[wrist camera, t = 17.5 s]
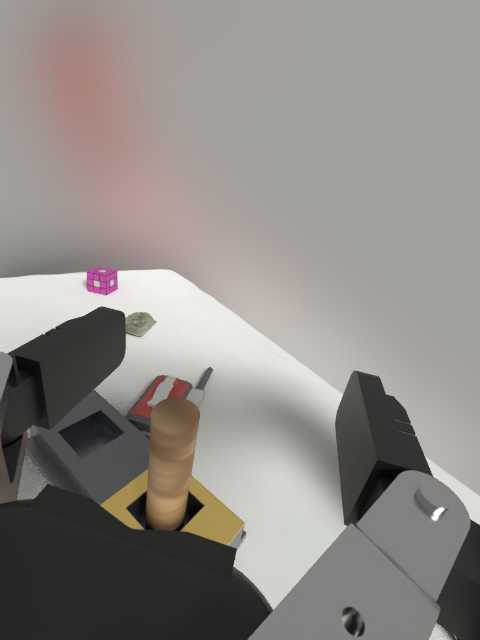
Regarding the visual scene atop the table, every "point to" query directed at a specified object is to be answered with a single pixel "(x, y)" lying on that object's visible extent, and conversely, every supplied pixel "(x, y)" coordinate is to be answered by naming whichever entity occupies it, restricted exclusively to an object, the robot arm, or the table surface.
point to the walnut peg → (170, 462)
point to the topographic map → (139, 323)
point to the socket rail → (119, 470)
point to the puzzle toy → (102, 280)
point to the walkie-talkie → (163, 390)
